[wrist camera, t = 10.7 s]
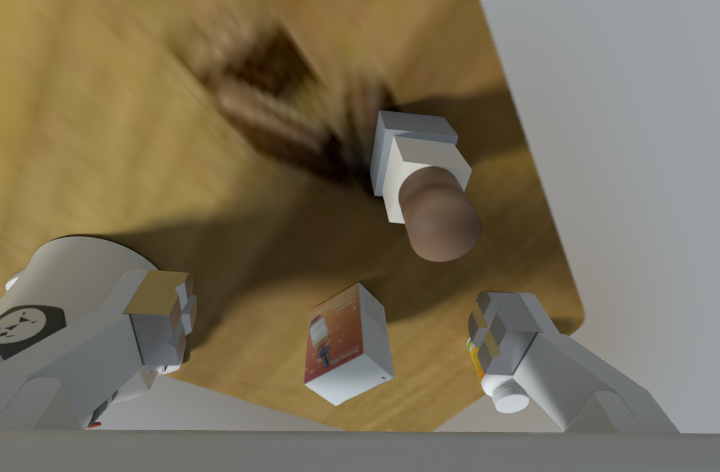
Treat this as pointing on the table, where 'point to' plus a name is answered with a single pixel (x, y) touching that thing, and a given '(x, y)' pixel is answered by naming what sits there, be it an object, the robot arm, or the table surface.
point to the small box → (347, 346)
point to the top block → (418, 167)
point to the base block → (404, 127)
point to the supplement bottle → (499, 386)
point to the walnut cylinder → (438, 215)
